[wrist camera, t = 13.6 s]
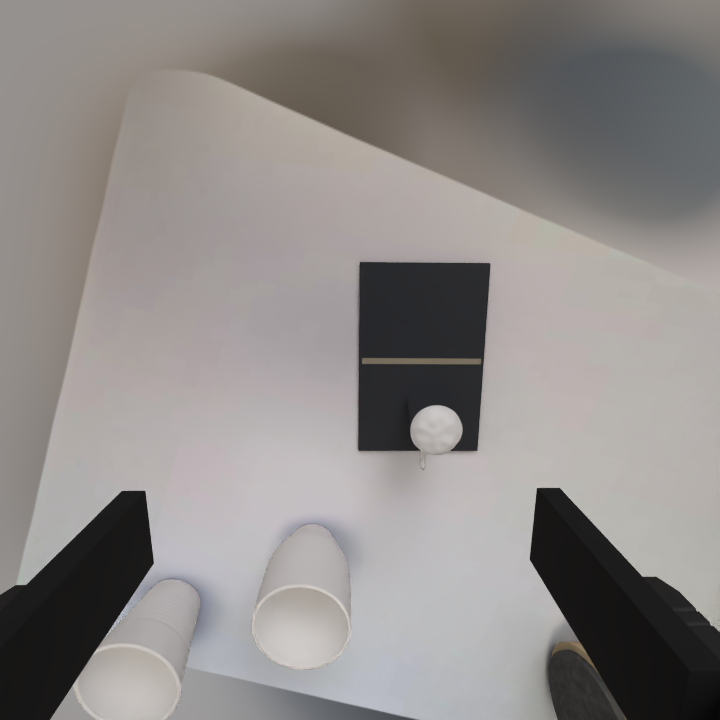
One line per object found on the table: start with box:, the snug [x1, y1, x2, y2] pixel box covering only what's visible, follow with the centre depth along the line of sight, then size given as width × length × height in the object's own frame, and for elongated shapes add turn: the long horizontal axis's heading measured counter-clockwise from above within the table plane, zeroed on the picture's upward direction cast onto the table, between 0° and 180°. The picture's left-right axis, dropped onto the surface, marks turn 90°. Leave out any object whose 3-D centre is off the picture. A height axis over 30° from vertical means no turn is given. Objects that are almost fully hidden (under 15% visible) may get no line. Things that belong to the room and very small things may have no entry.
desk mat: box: [359, 262, 490, 451], centre depth 45 cm, size 20×13×1 cm, turn 0°
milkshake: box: [407, 388, 463, 470], centre depth 40 cm, size 5×5×10 cm
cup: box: [73, 579, 200, 720], centre depth 45 cm, size 10×10×11 cm
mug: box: [251, 524, 351, 670], centre depth 43 cm, size 12×9×12 cm
